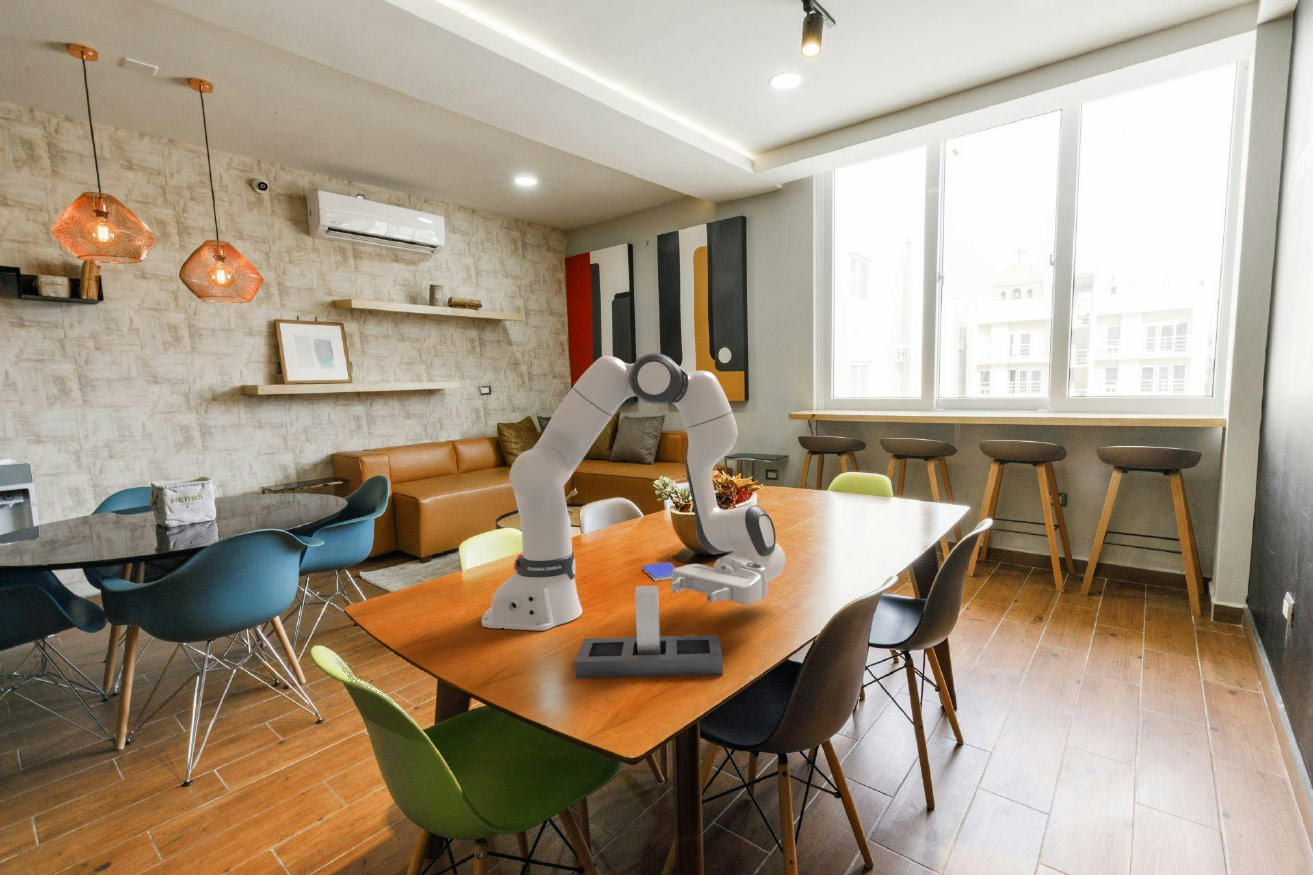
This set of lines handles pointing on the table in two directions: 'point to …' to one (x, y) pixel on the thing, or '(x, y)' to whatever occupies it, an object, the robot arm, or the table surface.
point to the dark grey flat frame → (649, 657)
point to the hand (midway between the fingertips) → (691, 592)
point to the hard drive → (659, 571)
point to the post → (647, 620)
